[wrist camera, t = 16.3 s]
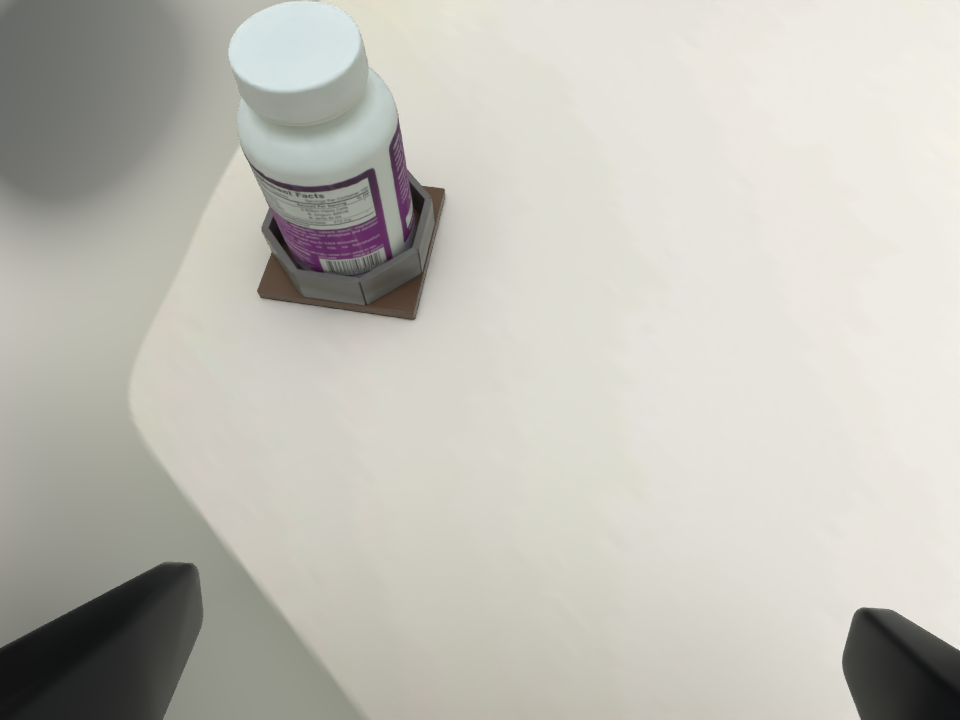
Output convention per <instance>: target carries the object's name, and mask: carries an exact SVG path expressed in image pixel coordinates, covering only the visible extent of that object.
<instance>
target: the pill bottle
mask: <svg viewBox="0 0 960 720" xmlns="http://www.w3.org/2000/svg"><path fill="white" fill-rule="evenodd" d="M228 55H229V56H228V57H229V62H230V65H231V68H232V71H233V74H234V77H235V79H236V82H237V85H238V89H239V92H240V94H241V96H242V100H241V102H240V105H239V109H238V114H237V132H238V137H239V140H240V144H241V147H242V150H243V152H244V155H245V157H246V158H247V160H248V162H249V164H250V166H251V168H252V171H253V173H254V175H255V177H256V180H257V182H258V184H259V186H260V188H261V190H262V192H263V194H264V196H265V199H266V201H267V203H268V205H269V208H270V210H271V212H272V214H273V216H274V218H275V221H276V223H277V225H278V227H279V229H280V231H281V233H282V235H283V238H284V240H285V242H286V244H287V246H288V248H289V250H290V252H291V254H292V256H293V258H294V259H295V261H296V262H297V264H298V265H299V267H300V268H301V269H302V270H307V271H315V272H322V273H329V274H336V275H343V276H350V277H357V278H359V277H361V276H363V275H364V274H366V273H368V272H370V271H371V270H373V269H375V268H377V267H379V266H380V265H382V264H384V263H386V262H387V261H389V260H391V259H393V258H394V257H396V256H398V255H400V254H402V253H403V252H405V251H407V250H409V249H410V248H412V246H413V243H414V239H415V235H416V225H415V218H414V211H413V205H412V197H411V192H410V185H409V179H408V173H407V167H406V161H405V155H404V149H403V142H402V135H401V130H400V125H399V118H398V111H397V107H396V104H395V101H394V98H393V95H392V93H391V91H390V89H389V88H388V86H387V85H386V83H385V82H384V80H383V79H382V78H381V77H380V76H379V75H378V74H377V73H376V72H375V71H374V70H372V69H371V68H370V67H368V60H367V57H366V52H365V48H364V44H363V40H362V36H361V33H360V30H359V28H358V26H357V24H356V23H355V21H354V20H353V19H352V18H351V17H350V16H349V15H348V14H347V13H345V12H344V11H342V10H341V9H339V8H337V7H335V6H333V5H329V4H327V3H322V2H316V1H292V2H286V3H281V4H277V5H274V6H271V7H269V8H266V9H264V10H262V11H260V12H258V13H256V14H254V15H253V16H251V17H250V18H249V19H247V20H246V21H245V22H243V23H242V24H241V26H240V27H239V28H238V29H237V30H236V32H235V33H234V35H233V37H232V39H231V42H230V45H229V51H228Z"/></svg>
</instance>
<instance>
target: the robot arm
mask: <svg viewBox="0 0 960 720" xmlns="http://www.w3.org/2000/svg"><path fill="white" fill-rule="evenodd" d="M202 621H203V605H202V596H201V587H200V579H199V572H198V569H197V567H196V566H195V565H194V564H193V563H184V562H164V563H162V564H160V565H158V566H156V567H154V568H152V569H150V570H148V571H146V572H145V573H143V574H141V575H139V576H137V577H135V578H133V579H131V580H129V581H127V582H125V583H124V584H122V585H120V586H118V587H116V588H114V589H112V590H110V591H108V592H106V593H104V594H102V595H101V596H99V597H97V598H95V599H93V600H91V601H89V602H88V603H85V604H83V605H81V606H80V607H78V608H76V609H74V610H72V611H70V612H68V613H67V614H64V615H62V616H60V617H58V618H57V619H55V620H53V621H51V622H49V623H47V624H45V625H43V626H41V627H39V628H37V629H36V630H34V631H32V632H30V633H28V634H26V635H24V636H22V637H21V638H18V639H17V640H15V641H13V642H11V643H9V644H7V645H5V646H3V647H1V648H0V720H163V718H164V715H165V713H166V710H167V708H168V705H169V703H170V701H171V698H172V696H173V694H174V691H175V689H176V687H177V684H178V682H179V680H180V677H181V675H182V672H183V670H184V668H185V665H186V663H187V661H188V658H189V656H190V653H191V651H192V649H193V646H194V644H195V641H196V639H197V637H198V634H199V632H200V629H201V626H202ZM842 666H843V672H844V676H845V679H846V681H847V684H848V687H849V689H850V692H851V695H852V697H853V700H854V703H855V705H856V708H857V711H858V713H859V716H860V719H861V720H960V651H959V650H958V649H956V648H954V647H953V646H951V645H949V644H948V643H946V642H944V641H943V640H941V639H939V638H938V637H936V636H934V635H933V634H931V633H930V632H928V631H926V630H925V629H923V628H921V627H920V626H918V625H916V624H915V623H913V622H911V621H910V620H908V619H906V618H905V617H903V616H902V615H900V614H898V613H897V612H895V611H893V610H889V609H879V608H860V609H858V610H857V611H856V612H855V613H854V616H853V619H852V622H851V626H850V630H849V634H848V637H847V641H846V645H845V649H844V652H843V658H842Z"/></svg>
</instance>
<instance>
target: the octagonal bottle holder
mask: <svg viewBox="0 0 960 720" xmlns="http://www.w3.org/2000/svg"><path fill="white" fill-rule="evenodd" d="M407 173H408V179H409V185H410V192H411V197H412V205H413V211H414V218H415V225H416V235H415V239H414V243H413V246H412V248H410V249H409V250H407V251H405V252H403V253H402V254H400V255H398V256H396V257H394V258H393V259H391V260H389V261H387V262H386V263H384V264H382V265H380V266H379V267H377V268H375V269H373V270H371V271H370V272H368V273H366V274H364V275H363V276H361V277H359V278H357V277H350V276H343V275H336V274H329V273H322V272H315V271H307V270H302V269H301V268H300V267H299V265H298V264H297V262H296V261H295V259H294V258H293V256H292V254H291V252H290V250H289V248H288V246H287V244H286V242H285V240H284V238H283V235H282V233H281V231H280V229H279V227H278V225H277V223H276V221H275V218H274V216H273V214H272V212H271V210H270V208H269V210H268V213H267V215H266V218H265V220H264V223H263V225H262V233H263V235H264V237H265V239H266V241H267V243H268V245H269V247H270V249H271V251H272V253H271V256H270V258H269V261H268V264H267V266H266V269H265V272H264V274H263V277H262V279H261V282H260V285H259V287H258V290H257V292H258V294H259V295H260V297H263V298H270V299H276V300H283V301H290V302H297V303H304V304H311V305H318V306H325V307H332V308H339V309H346V310H353V311H360V312H366V313H373V314H380V315H387V316H394V317H401V318H408V319H415V316H416V312H417V308H418V303H419V299H420V295H421V291H422V287H423V283H424V279H425V275H426V271H427V267H428V263H429V259H430V255H431V251H432V247H433V243H434V239H435V235H436V231H437V227H438V223H439V219H440V215H441V210H442V206H443V202H444V198H445V190H444V189H442V188H434V187H426V186H421V185H420V183H419V182H418V181H417V180H416V179H415V178H414V177H413V175H412V174H411V173H410V172H409V171H408V170H407Z"/></svg>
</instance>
